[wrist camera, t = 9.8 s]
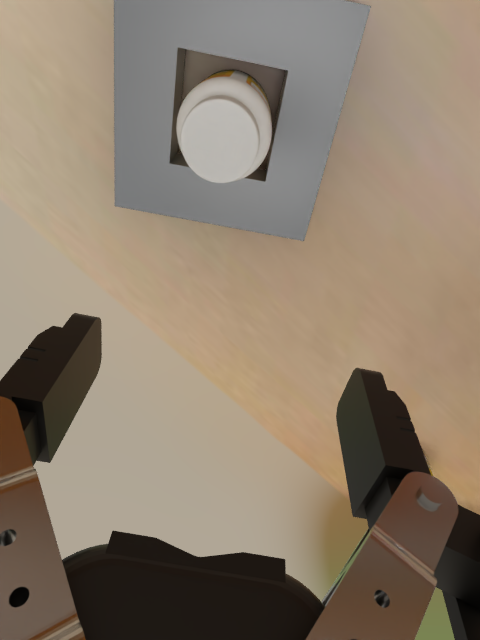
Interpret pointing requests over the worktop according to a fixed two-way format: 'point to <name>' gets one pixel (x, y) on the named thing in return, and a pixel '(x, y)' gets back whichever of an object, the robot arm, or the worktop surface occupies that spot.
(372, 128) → the worktop surface
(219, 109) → the supplement bottle
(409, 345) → the worktop surface
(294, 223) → the socket block
